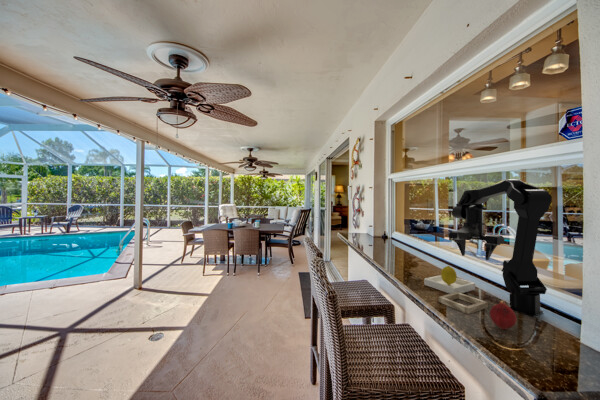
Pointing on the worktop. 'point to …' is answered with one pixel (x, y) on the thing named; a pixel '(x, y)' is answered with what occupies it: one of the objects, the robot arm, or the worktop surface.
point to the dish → (457, 286)
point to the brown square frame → (469, 309)
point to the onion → (503, 315)
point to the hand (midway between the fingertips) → (474, 257)
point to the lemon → (448, 275)
